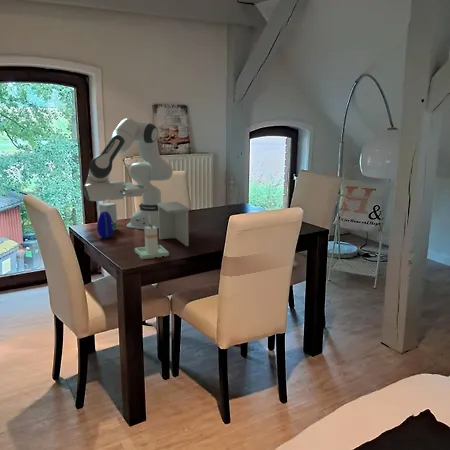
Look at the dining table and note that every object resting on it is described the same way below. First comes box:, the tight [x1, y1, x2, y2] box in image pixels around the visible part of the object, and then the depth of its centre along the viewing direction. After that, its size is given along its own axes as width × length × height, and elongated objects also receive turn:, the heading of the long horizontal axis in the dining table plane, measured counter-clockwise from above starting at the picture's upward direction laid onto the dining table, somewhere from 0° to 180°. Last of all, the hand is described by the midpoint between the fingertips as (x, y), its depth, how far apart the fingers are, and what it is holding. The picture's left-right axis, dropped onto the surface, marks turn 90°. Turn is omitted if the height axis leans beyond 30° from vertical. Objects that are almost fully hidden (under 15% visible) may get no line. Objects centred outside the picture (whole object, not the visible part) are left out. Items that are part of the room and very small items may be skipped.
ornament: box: [96, 211, 115, 239], centre depth 271 cm, size 11×9×15 cm
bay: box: [157, 201, 190, 247], centre depth 262 cm, size 11×20×20 cm, turn 25°
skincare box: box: [98, 202, 118, 231], centre depth 287 cm, size 8×7×16 cm
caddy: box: [143, 223, 159, 254], centre depth 243 cm, size 5×5×14 cm
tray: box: [134, 244, 170, 260], centre depth 244 cm, size 14×14×2 cm
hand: (146, 188), depth 244 cm, fingers open, 8 cm apart
